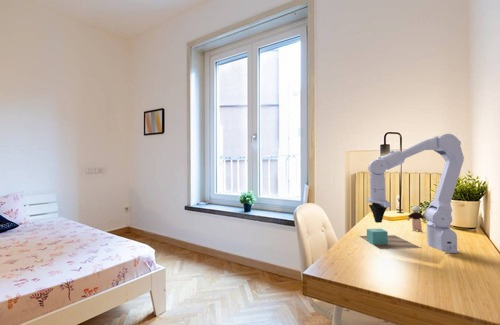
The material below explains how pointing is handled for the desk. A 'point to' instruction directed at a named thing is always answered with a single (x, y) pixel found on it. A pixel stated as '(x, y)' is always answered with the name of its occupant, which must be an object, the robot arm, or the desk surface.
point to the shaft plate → (394, 243)
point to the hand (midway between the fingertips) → (378, 222)
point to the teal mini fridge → (377, 236)
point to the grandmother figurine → (416, 219)
